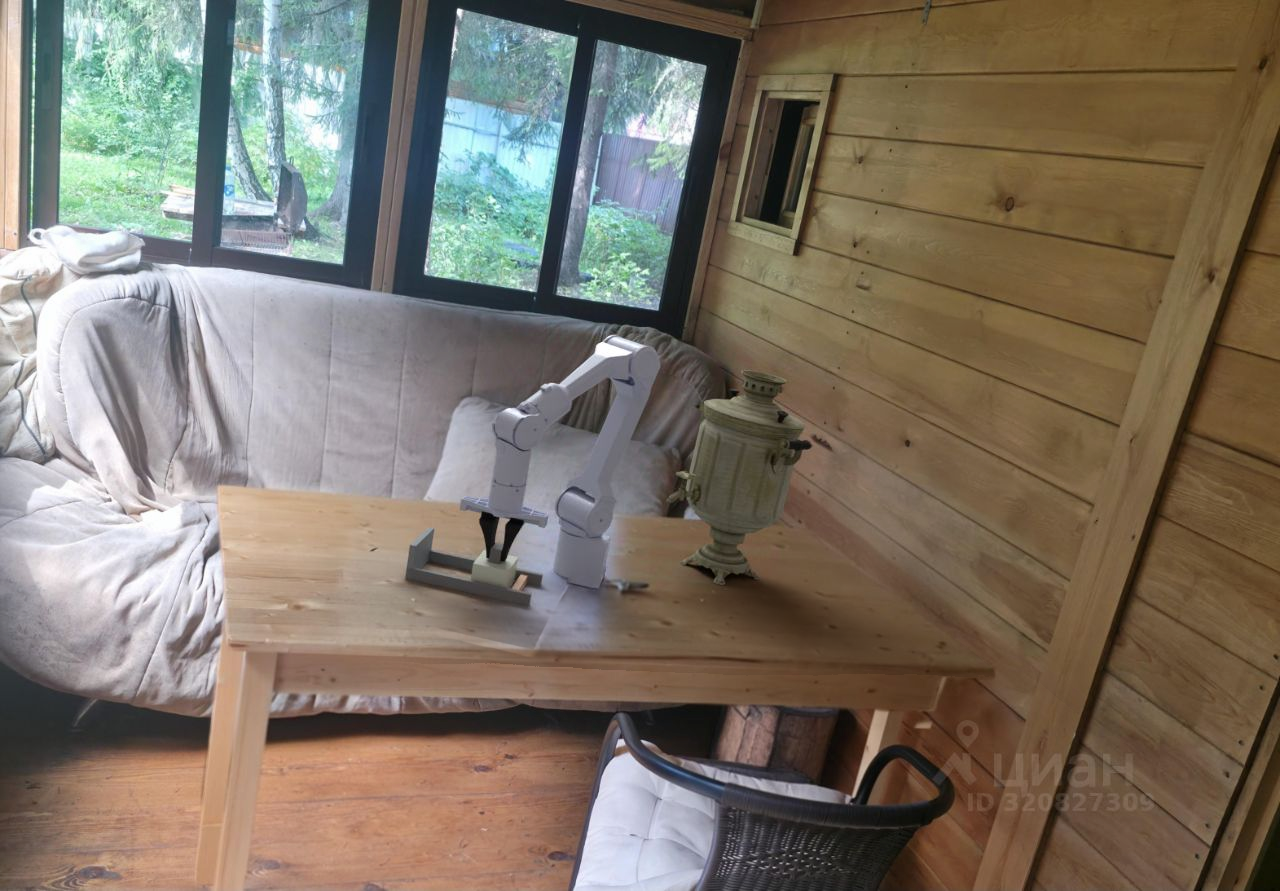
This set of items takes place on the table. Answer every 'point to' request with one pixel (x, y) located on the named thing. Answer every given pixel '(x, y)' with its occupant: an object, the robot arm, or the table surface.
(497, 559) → the pale green knobbed block
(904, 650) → the table surface
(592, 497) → the robot arm
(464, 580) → the bay
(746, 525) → the samovar
